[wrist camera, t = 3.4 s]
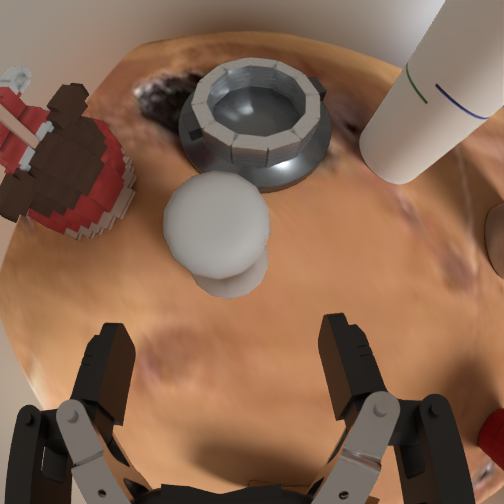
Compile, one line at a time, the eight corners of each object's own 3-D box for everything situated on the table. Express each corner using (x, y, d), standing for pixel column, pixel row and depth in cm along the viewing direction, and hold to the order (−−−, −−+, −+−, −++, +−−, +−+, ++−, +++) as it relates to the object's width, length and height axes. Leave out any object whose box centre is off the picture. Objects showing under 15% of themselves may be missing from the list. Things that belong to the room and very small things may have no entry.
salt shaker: (180, 269, 23) (109, 232, 10) (222, 214, 24) (201, 122, 11) (238, 313, 22) (230, 329, 10) (280, 255, 23) (322, 200, 10)
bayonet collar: (287, 65, 27) (292, 37, 22) (353, 164, 25) (371, 141, 20) (165, 102, 26) (155, 73, 21) (211, 218, 24) (204, 199, 19)
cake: (106, 263, 23) (-67, 198, 5) (42, 226, 23) (-92, 159, 5) (158, 157, 24) (76, -3, 7) (89, 136, 25) (-1, 21, 7)
